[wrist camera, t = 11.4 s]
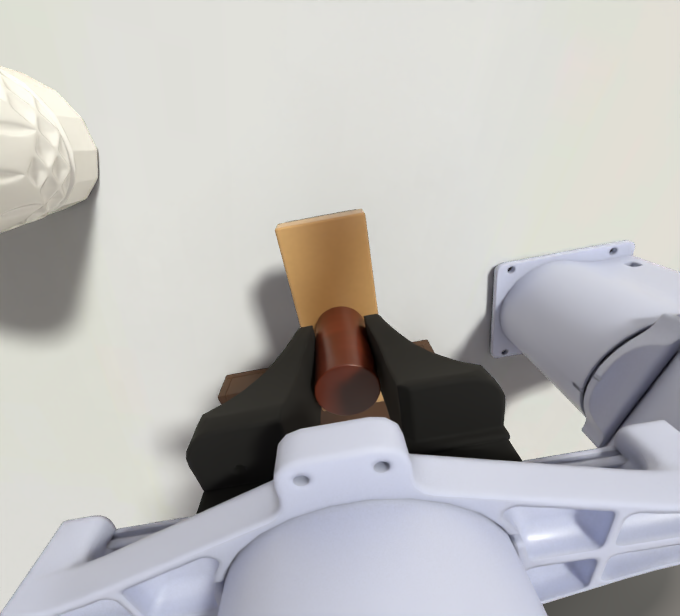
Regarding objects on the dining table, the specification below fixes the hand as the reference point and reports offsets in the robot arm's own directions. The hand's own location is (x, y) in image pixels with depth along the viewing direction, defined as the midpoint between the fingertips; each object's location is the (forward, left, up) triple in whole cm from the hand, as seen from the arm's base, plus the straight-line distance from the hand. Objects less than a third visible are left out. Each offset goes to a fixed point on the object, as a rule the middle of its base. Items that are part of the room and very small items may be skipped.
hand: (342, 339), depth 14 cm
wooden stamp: (0, 0, -3) cm, 3 cm away
